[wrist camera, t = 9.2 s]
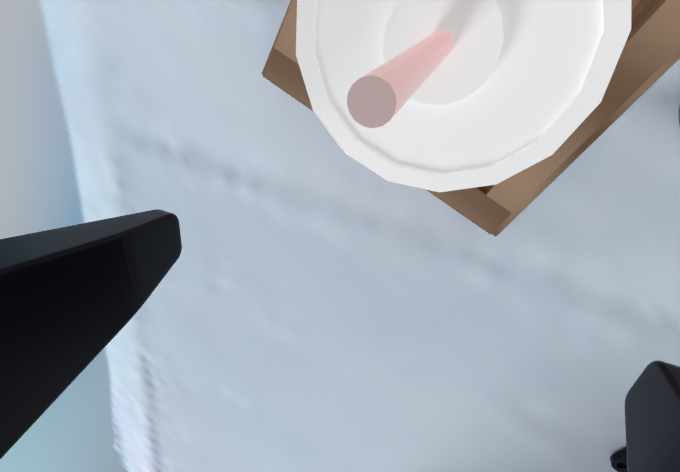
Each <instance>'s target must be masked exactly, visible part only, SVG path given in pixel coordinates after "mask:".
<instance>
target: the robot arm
mask: <svg viewBox="0 0 680 472" xmlns="http://www.w3.org/2000/svg"><path fill="white" fill-rule="evenodd" d="M181 249H182V244H181V236H180V227H179V220H178V218H177V216H176V215H175V214H173V213H169V212H166V211H163V210H151V211H146V212H141V213H135V214H130V215H125V216H120V217H114V218H109V219H104V220H99V221H94V222H88V223H83V224H78V225H73V226H68V227H63V228H58V229H52V230H47V231H42V232H37V233H31V234H26V235H21V236H16V237H10V238H5V239H0V459H1V458H2V457H3V456H4V455H5V454H6V453H7V451H8V450H9V449H10V448H11V447H12V446H13V445H14V444H15V443H16V442H17V441H18V440H19V438H21V437H22V435H23V434H24V433H25V432H26V431H27V430H28V429H29V428H30V427H31V426H32V425H33V424H34V423H35V421H36V420H37V419H38V418H39V417H40V416H41V415H42V414H43V413H44V412H45V411H46V409H48V407H49V406H50V405H51V404H52V403H53V402H54V401H55V400H56V399H57V398H58V397H59V396H60V395H61V394H62V392H63V391H64V390H65V389H66V388H67V387H68V386H69V385H70V384H71V383H72V382H73V381H74V380H75V379H76V377H77V376H78V375H79V374H80V373H81V372H82V371H83V370H84V369H85V368H86V367H87V366H88V364H89V363H90V362H91V361H92V360H93V359H94V358H95V357H96V356H97V355H98V354H99V353H100V352H101V351H102V349H103V348H104V347H105V346H106V345H107V344H108V343H109V342H110V341H111V340H112V339H113V338H114V337H115V336H116V334H117V333H118V332H119V331H120V330H121V329H122V328H123V327H124V326H125V325H126V324H127V323H128V322H129V320H130V319H131V318H132V317H133V316H134V315H135V314H136V313H137V311H138V310H139V309H140V308H141V306H142V305H143V304H144V303H145V301H146V300H147V299H148V297H149V296H150V295H151V293H152V292H153V291H154V290H155V288H156V287H157V286H158V284H159V283H160V282H161V280H162V279H163V278H164V276H165V275H166V274H167V272H168V271H169V270H170V268H171V267H172V266H173V265H174V263H175V262H176V261H177V259H178V258H179V256H180V253H181ZM625 424H626V446H627V449H625V450H623V451H620V452H618V453H616V454H613V455H612V456H611V457H610V461H611V465H612V467H613V468H614V469H615V470H617V471H618V472H680V367H679V366H675V365H672V364H669V363H665V362H662V361H653V362H651V363H650V364H649V365H648V366H647V367H646V368H645V370H644V371H643V373H642V374H641V375H640V377H639V378H638V379H637V381H636V382H635V383H634V385H633V386H632V387H631V389H630V390H629V392H628V394H627V396H626V399H625Z"/></svg>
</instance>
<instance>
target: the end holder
mask: <svg viewBox="0 0 680 472" xmlns="http://www.w3.org/2000/svg"><path fill="white" fill-rule="evenodd" d="M296 25H297V0H291V2H290V4H289V7H288V9H287V12H286V14H285V17H284V19H283V22H282V24H281V27H280V29H279V32H278V34H277V37H276V39H275V42H274V44H273V47H272V49H271V52H270V54H269V57H268V59H267V62H266V65H265V67H264V70H263V72H262V74H263V77H265V78H266V79H268V80H269V81H270V82H272V83H273V84H275V85H276V86H278V87H279V88H281V89H282V90H283V91H285V92H286V93H288V94H289V95H291V96H292V97H293V98H295V99H296V100H298V101H299V102H301V103H302V104H304V105H305V106H306V107H308V108H309V109H311V110H312V111H313V109H312V106H311V102H310V99H309V96H308V93H307V90H306V86H305V83H304V80H303V77H302V73H301V70H300V67H299V64H298V60H297V57H296ZM679 58H680V0H631V31H630V33H629V36H628V38H627V41H626V43H625V45H624V48H623V50H622V53H621V55H620V57H619V60H618V62H617V65H616V67H615V70H614V72H613V74H612V77H611V79H610V82H609V84H608V86H607V89H606V91H605V94H604V96H603V98H602V101H601V103H600V104H599V105H598V106H597V107H596V108H595V109H594V110H593V111H592V112H591V113H590V115H589V116H588V117H587V118H586V119H585V120H584V121H583V122H582V123H581V124H580V125H579V126H578V128H577V129H576V130H575V131H574V132H573V133H572V134H571V135H570V136H569V137H568V138H567V139H566V141H565V142H564V143H563V144H562V145H561V146H560V147H559V148H558V149H557V150H556V151H555V152H554V154H553V155H551V156H549V157H547V158H545V159H544V160H542V161H540V162H538V163H536V164H534V165H532V166H530V167H528V168H526V169H525V170H523V171H521V172H519V173H517V174H515V175H513V176H511V177H509V178H507V179H506V180H504V181H502V182H500V183H498V184H496V185H490V186H482V187H475V188H468V189H461V190H454V191H447V192H435V191H430V190H427V191H429V192H430V193H432V194H433V195H434V196H436V197H437V198H439V199H440V200H442V201H443V202H445V203H446V204H447V205H449V206H450V207H452V208H453V209H455V210H456V211H457V212H459V213H460V214H462V215H463V216H465V217H466V218H468V219H469V220H470V221H472V222H473V223H475V224H476V225H478V226H479V227H480V228H482V229H483V230H485V231H486V232H488V233H489V234H493V235H494V236H497V235H498V234H499V233H500V232H501V231H502V230H503V229H504V228H505V227H506V226H507V225H508V224H509V223H510V222H511V221H512V220H514V219H515V218H516V217H517V216H518V215H519V214H520V213H521V212H522V211H523V210H524V209H525V208H526V207H527V206H528V205H529V204H530V203H531V202H532V201H533V200H534V199H535V198H536V197H537V196H538V195H539V194H540V193H541V192H542V191H543V190H544V189H545V188H546V187H547V186H549V185H550V184H551V183H552V182H553V181H554V180H555V179H556V178H557V177H558V176H559V175H560V174H561V173H562V172H563V171H564V170H565V169H566V168H567V167H568V166H569V165H570V164H571V163H572V162H573V161H574V160H575V159H576V158H577V157H578V156H579V155H580V154H581V153H582V152H584V151H585V150H586V149H587V148H588V147H589V146H590V145H591V144H592V143H593V142H594V141H595V140H596V139H597V138H598V137H599V136H600V135H601V134H602V133H603V132H604V131H605V130H606V129H607V128H608V127H609V126H610V125H611V124H612V123H613V122H614V121H615V120H616V119H617V118H619V117H620V116H621V115H622V114H623V113H624V112H625V111H626V110H627V109H628V108H629V107H630V106H631V105H632V104H633V103H634V102H635V101H636V100H637V99H638V98H639V97H640V96H641V95H642V94H643V93H644V92H645V91H646V90H647V89H648V88H649V87H650V86H651V85H652V84H654V83H655V82H656V81H657V80H658V79H659V78H660V77H661V76H662V75H663V74H664V73H665V72H666V71H667V70H668V69H669V68H670V67H671V66H672V65H673V64H674V63H675V62H676V61H677V60H678V59H679Z"/></svg>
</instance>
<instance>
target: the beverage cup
mask: <svg viewBox="0 0 680 472" xmlns="http://www.w3.org/2000/svg"><path fill="white" fill-rule="evenodd" d="M630 31H631V0H297V25H296V57H297V60H298V64H299V67H300V70H301V73H302V77H303V80H304V83H305V86H306V90H307V93H308V96H309V99H310V102H311V106H312V109H313V111H314V112H315V114H316V115H317V116H318V118H319V119H320V120H321V122H322V123H323V124H324V126H325V127H326V128H327V130H328V131H329V132H330V134H331V135H332V136H333V138H334V139H335V141H336V142H337V143H338V145H339V146H340V147H341V149H342V150H343V151H344V153H346V154H347V155H349V156H350V157H352V158H353V159H355V160H356V161H358V162H359V163H361V164H362V165H364V166H366V167H367V168H369V169H370V170H372V171H373V172H375V173H376V174H378V175H379V176H381V177H382V178H384V179H385V180H387V181H390V182H394V183H399V184H403V185H408V186H412V187H417V188H421V189H426V190H430V191H435V192H447V191H454V190H461V189H468V188H475V187H482V186H490V185H496V184H498V183H500V182H502V181H504V180H506V179H507V178H509V177H511V176H513V175H515V174H517V173H519V172H521V171H523V170H525V169H526V168H528V167H530V166H532V165H534V164H536V163H538V162H540V161H542V160H544V159H545V158H547V157H549V156H551V155H553V154H554V152H555V151H556V150H557V149H558V148H559V147H560V146H561V145H562V144H563V143H564V142H565V141H566V139H567V138H568V137H569V136H570V135H571V134H572V133H573V132H574V131H575V130H576V129H577V128H578V126H579V125H580V124H581V123H582V122H583V121H584V120H585V119H586V118H587V117H588V116H589V115H590V113H591V112H592V111H593V110H594V109H595V108H596V107H597V106H598V105H599V104H600V103H601V101H602V98H603V96H604V94H605V91H606V89H607V86H608V84H609V82H610V79H611V77H612V74H613V72H614V70H615V67H616V65H617V62H618V60H619V57H620V55H621V53H622V50H623V48H624V45H625V43H626V41H627V38H628V36H629V33H630Z"/></svg>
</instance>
